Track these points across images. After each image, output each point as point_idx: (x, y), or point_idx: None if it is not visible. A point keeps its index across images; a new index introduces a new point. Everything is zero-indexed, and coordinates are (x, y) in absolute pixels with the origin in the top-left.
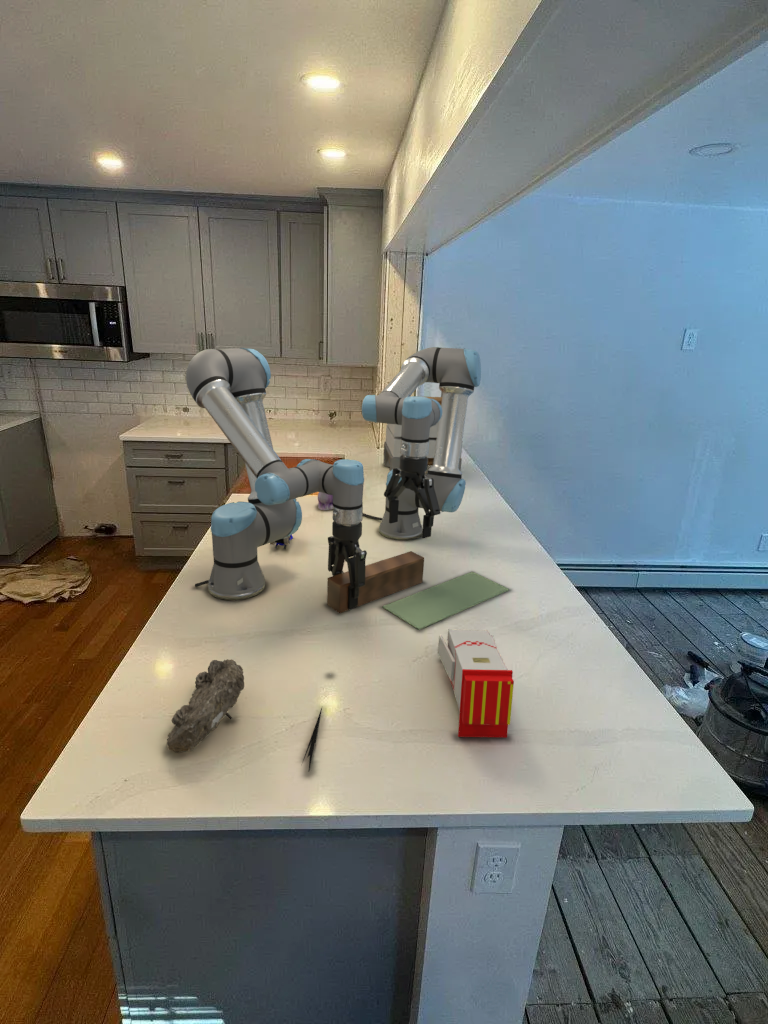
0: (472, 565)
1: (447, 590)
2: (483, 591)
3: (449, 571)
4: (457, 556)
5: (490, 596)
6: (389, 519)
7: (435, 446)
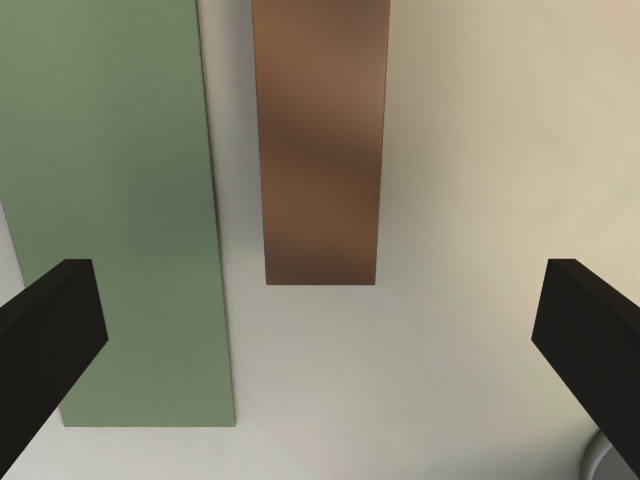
0: (279, 459)
1: (160, 256)
2: None
3: (291, 373)
4: (365, 470)
5: None
6: (591, 275)
7: None
